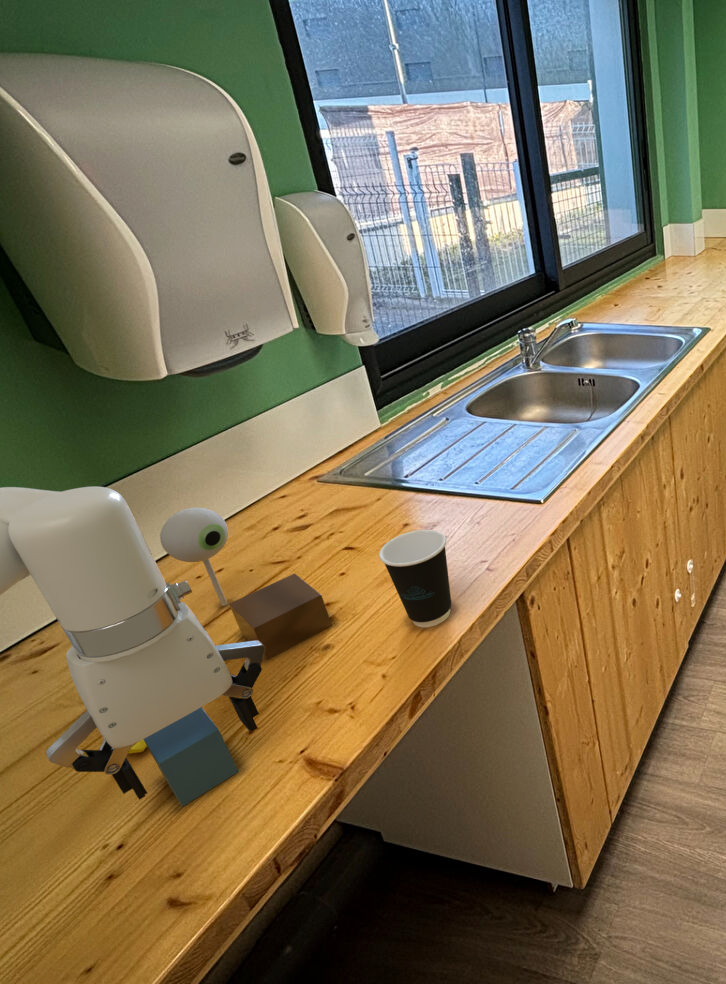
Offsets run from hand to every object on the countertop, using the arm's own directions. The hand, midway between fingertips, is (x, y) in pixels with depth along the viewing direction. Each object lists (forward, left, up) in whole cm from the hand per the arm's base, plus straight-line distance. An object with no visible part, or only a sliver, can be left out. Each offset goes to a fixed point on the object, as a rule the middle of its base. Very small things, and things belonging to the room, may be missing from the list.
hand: (196, 755), depth 70 cm
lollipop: (+12, +30, -3) cm, 33 cm away
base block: (+15, +17, -3) cm, 23 cm away
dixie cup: (+28, +4, -3) cm, 28 cm away
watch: (-2, +10, -3) cm, 11 cm away
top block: (0, 0, -3) cm, 3 cm away
